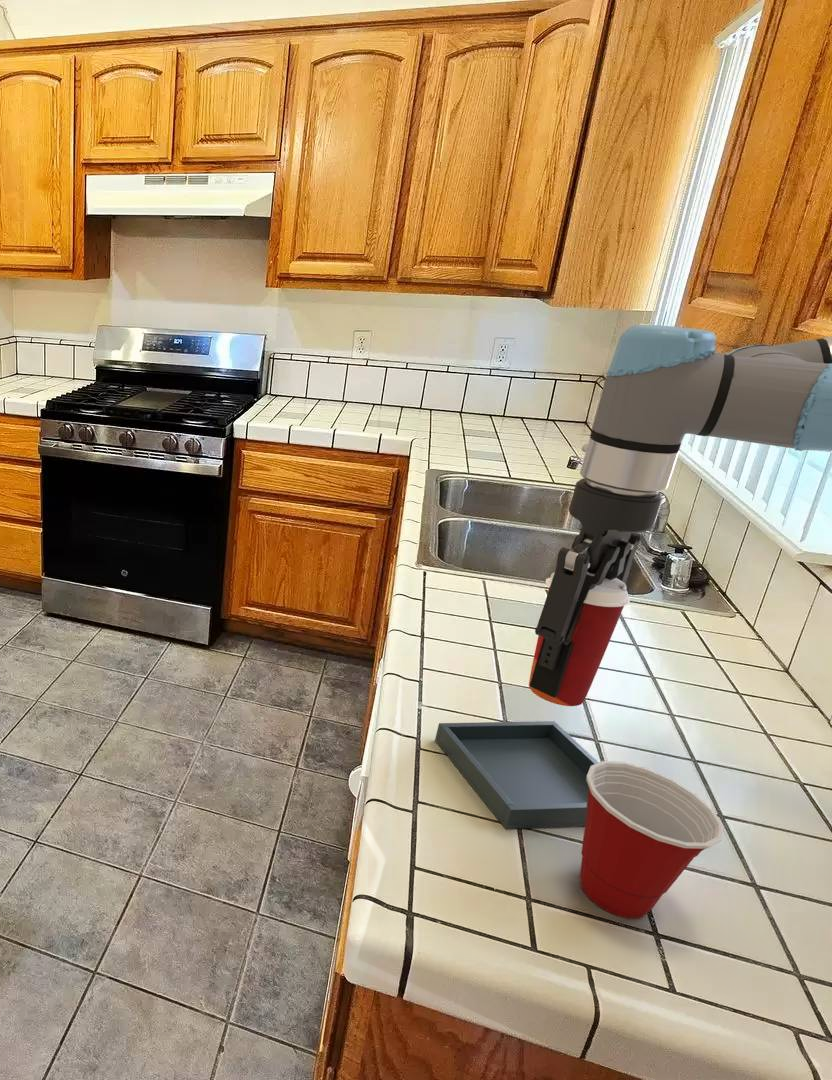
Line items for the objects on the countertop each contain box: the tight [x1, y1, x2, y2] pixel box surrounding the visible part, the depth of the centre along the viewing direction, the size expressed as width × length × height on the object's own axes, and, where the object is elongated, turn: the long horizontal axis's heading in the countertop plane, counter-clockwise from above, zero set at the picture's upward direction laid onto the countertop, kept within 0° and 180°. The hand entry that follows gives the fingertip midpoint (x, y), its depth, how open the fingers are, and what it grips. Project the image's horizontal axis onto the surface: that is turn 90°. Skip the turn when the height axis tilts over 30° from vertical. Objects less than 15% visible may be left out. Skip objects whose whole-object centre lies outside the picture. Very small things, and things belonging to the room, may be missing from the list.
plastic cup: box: [579, 760, 725, 919], centre depth 71 cm, size 11×11×12 cm
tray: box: [434, 720, 600, 830], centre depth 89 cm, size 16×16×3 cm
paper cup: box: [528, 571, 631, 707], centre depth 82 cm, size 8×8×14 cm
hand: (559, 681), depth 84 cm, fingers closed on paper cup, 6 cm apart
